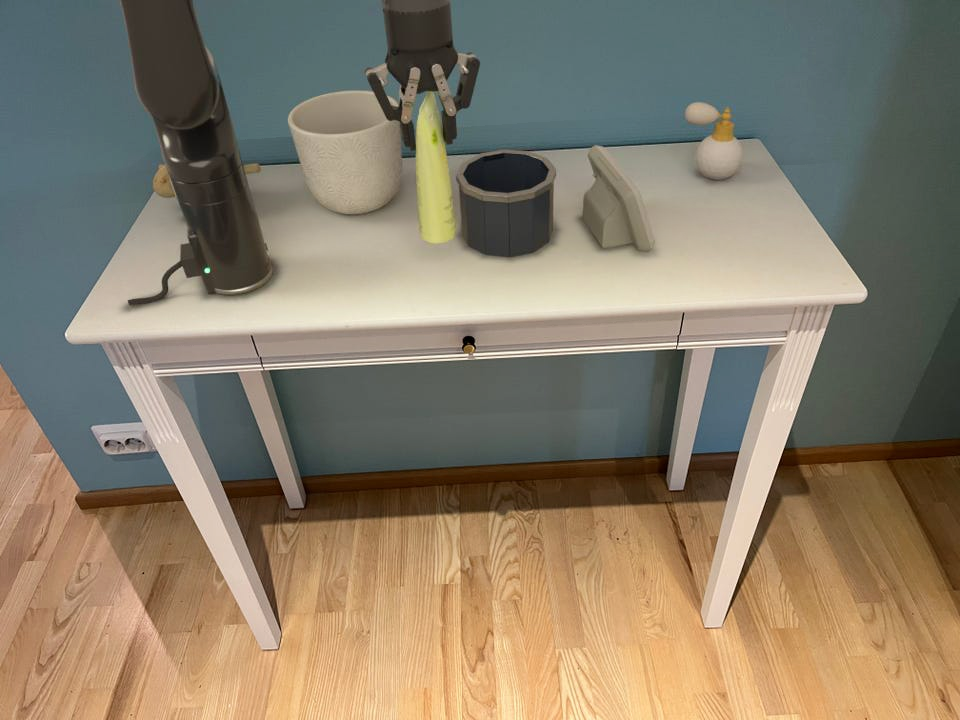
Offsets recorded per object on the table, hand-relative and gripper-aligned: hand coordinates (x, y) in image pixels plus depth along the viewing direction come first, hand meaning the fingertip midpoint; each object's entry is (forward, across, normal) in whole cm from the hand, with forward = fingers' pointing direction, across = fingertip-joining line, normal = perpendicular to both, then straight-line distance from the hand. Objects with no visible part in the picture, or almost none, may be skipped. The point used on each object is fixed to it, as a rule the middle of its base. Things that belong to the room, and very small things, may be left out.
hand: (429, 144), depth 92 cm
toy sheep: (+20, +31, -31) cm, 48 cm away
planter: (+20, +8, -25) cm, 33 cm away
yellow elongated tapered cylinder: (+13, 0, 0) cm, 13 cm away
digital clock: (+20, -28, -2) cm, 34 cm away
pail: (+19, -12, -7) cm, 24 cm away
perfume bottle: (+20, -49, -12) cm, 54 cm away
